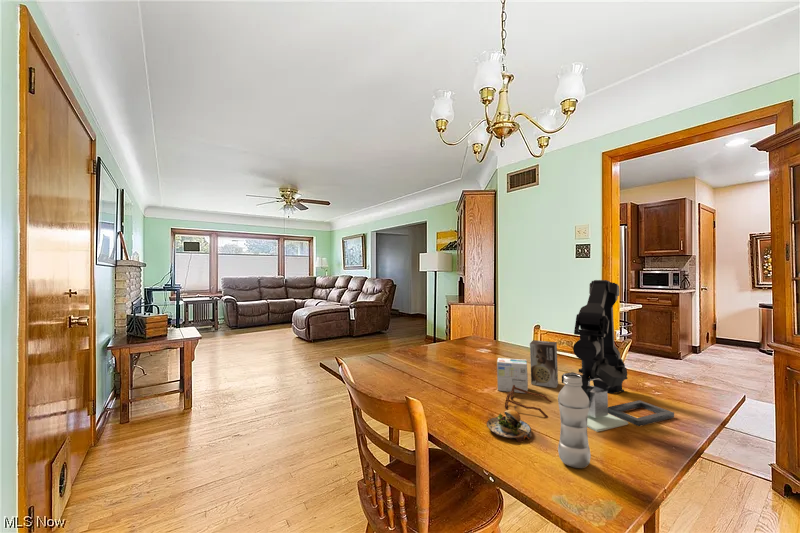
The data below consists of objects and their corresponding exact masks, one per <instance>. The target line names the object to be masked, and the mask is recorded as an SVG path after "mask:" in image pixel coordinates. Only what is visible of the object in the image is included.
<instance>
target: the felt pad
mask: <svg viewBox="0 0 800 533" xmlns="http://www.w3.org/2000/svg"><path fill="white" fill-rule="evenodd" d="M627 425H629V422H628V421H625V420H623V419H621V418H618V417H616V416H614V415H611V414H609V413H608V415H607V416H602V417H598V418H594V417H592V416H590V415H588V420H587V429H588V428H589V429H590V430H592V431H594V432H596V433H597V432H603V431H607V430H611V429H614V428H615V429H616V428H618V427H619V428H620V427H624V426H627Z"/></svg>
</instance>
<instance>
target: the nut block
mask: <svg viewBox="0 0 800 533" xmlns="http://www.w3.org/2000/svg"><path fill="white" fill-rule="evenodd" d="M590 386H591V387H594V388H593V389H592V390H591V391H590V405H589V412H588V415H590V416H592V417H594V418H598V417H602V416H607V415H608V414H609V413H608V407H609V400H608V399H609V398H608V396H609V395H608V393H609V392H607V391H606V390H603V389H600V388H598V387H595V386H594V385H590Z"/></svg>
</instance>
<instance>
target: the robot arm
mask: <svg viewBox="0 0 800 533" xmlns="http://www.w3.org/2000/svg"><path fill="white" fill-rule="evenodd" d="M588 293H589V296H588V300H587V302H586V303H587V304H586V305H584V306H582V307H581V308H580V309H579V311H578V313H577V314H576V315H575V316H576V317H575V322H574V330H573V331H574V332H573V334H574V335H576V336H579V340H577V341H576V342H575V343H574V345H573V347H572V350H573V354H574V355H575V357H576V358H578V359H579V360H581V368H578V373H576V372H574V371H571V372H564V373H563V374H562V375H561V383H562V384H564V383H563V381H564V374H576V375H579V376H581V377H582V386H581V388H582V389H583V390H584V392H585V393H586V394H587V396H588V398H589V401H590V391H591V390H592V389H593V388H594V387H591V386H592V385H591V381H592V383H593V386H595V387H598V388H600V389H603V390H606V391H607V392H608V393H609V394H618V393H622V392H625V389H623V382H624V381H625V380H628V369H627V367H626V364H625V363H624V361H623V358H622V357H621V352H620V351H619V350H618V348H617V347H616V344H615V326H614V322H615V321H614V306H615V304H616V302H617V301H618V297H619V296H620V285H619V284H618V283H616V282H611V281H610V280H607V279H595V280H591V282H590V283H589V292H588ZM579 373H580V374H579Z"/></svg>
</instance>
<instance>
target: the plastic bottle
mask: <svg viewBox="0 0 800 533" xmlns="http://www.w3.org/2000/svg"><path fill="white" fill-rule="evenodd" d="M563 374H564V373H563ZM562 384H564V385H563V387H562V388H561V389H560V391H559V392H558V395H557V403H558V409H559V418H560V434H559V440H558V446H557V452H558V457H559V459H560V461H561V462H562V463H563V464H564V465H567V466H568V467H571V468H574V469H584V468H586V467H587V466H589V464H590V462H591V457H592V455H591V450H590V444H589V438H588V437H589V434H588V427H587V420H588V412H589V405H590V401H589V398H588V396H587V394H586V393H585V392H584V390H583V389H582V388H581V386H582V377H581V376H579V375H576V374H564V381H563V383H562Z"/></svg>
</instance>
